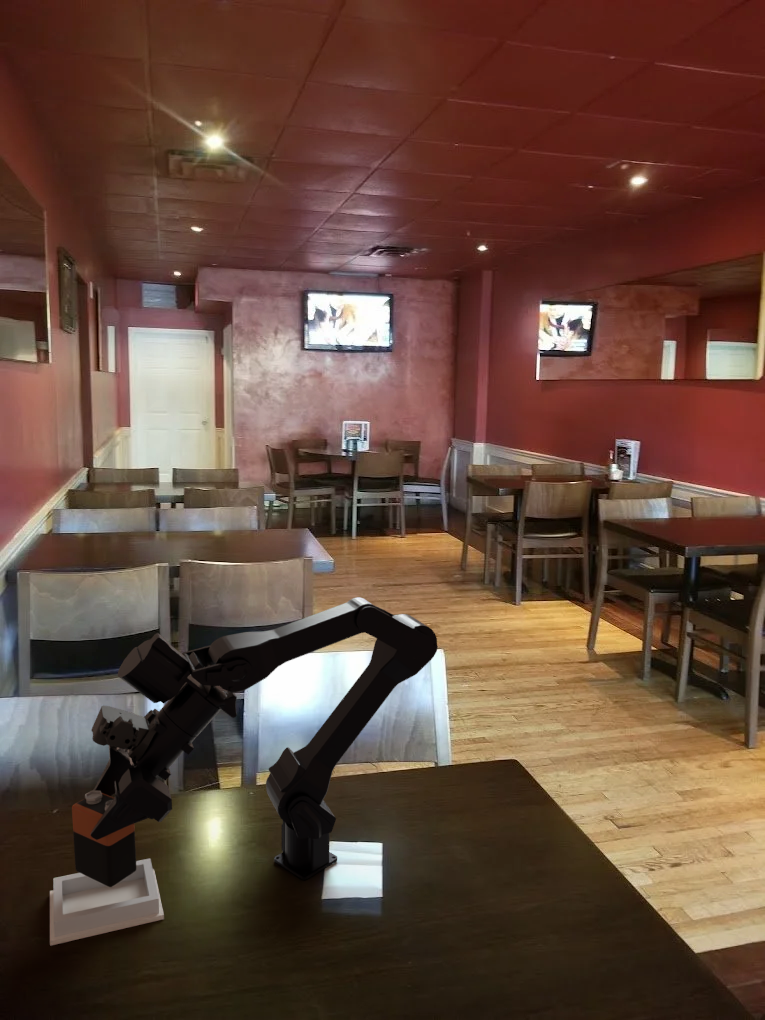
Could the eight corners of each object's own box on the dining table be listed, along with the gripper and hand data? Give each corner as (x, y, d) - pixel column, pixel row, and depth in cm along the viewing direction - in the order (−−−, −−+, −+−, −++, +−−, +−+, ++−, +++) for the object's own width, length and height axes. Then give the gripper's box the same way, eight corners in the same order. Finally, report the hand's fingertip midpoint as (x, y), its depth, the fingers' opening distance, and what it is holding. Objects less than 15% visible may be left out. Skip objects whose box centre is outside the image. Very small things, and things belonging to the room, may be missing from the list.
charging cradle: (154, 873, 107) (153, 855, 106) (163, 919, 98) (163, 899, 97) (50, 895, 102) (49, 876, 101) (50, 945, 93) (49, 925, 92)
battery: (102, 854, 103) (98, 783, 101) (138, 871, 99) (135, 797, 98) (73, 872, 99) (69, 798, 97) (110, 890, 96) (106, 813, 94)
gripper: (124, 660, 105) (39, 752, 103) (138, 714, 88) (37, 826, 86) (186, 707, 110) (106, 797, 107) (211, 768, 93) (116, 875, 90)
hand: (91, 820), depth 97 cm, fingers closed on battery, 8 cm apart
